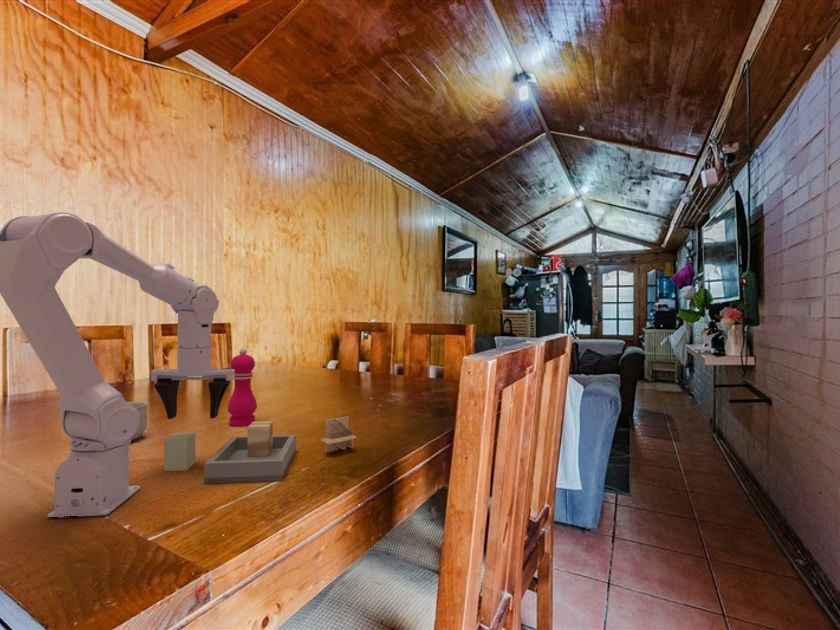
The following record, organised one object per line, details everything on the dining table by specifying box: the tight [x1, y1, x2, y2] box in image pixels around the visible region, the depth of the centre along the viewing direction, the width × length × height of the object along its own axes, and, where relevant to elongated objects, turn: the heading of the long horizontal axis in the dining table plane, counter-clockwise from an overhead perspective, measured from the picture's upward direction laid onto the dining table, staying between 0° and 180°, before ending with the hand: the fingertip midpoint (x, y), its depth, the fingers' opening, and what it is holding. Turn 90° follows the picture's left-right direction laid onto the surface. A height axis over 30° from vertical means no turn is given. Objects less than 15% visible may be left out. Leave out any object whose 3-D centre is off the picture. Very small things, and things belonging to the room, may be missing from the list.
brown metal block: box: [247, 420, 274, 457], centre depth 85 cm, size 4×4×6 cm
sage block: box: [163, 431, 197, 472], centre depth 80 cm, size 4×4×6 cm
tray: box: [203, 434, 297, 485], centre depth 81 cm, size 16×13×4 cm
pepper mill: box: [227, 348, 258, 427], centre depth 111 cm, size 7×7×20 cm
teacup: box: [126, 400, 148, 441], centre depth 97 cm, size 14×11×8 cm
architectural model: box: [320, 416, 357, 453], centre depth 89 cm, size 3×7×7 cm, turn 132°
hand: (193, 417), depth 80 cm, fingers open, 7 cm apart
